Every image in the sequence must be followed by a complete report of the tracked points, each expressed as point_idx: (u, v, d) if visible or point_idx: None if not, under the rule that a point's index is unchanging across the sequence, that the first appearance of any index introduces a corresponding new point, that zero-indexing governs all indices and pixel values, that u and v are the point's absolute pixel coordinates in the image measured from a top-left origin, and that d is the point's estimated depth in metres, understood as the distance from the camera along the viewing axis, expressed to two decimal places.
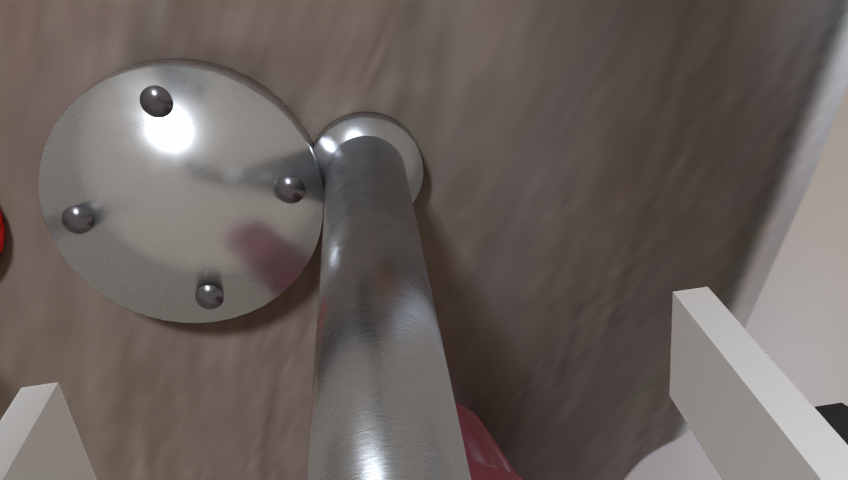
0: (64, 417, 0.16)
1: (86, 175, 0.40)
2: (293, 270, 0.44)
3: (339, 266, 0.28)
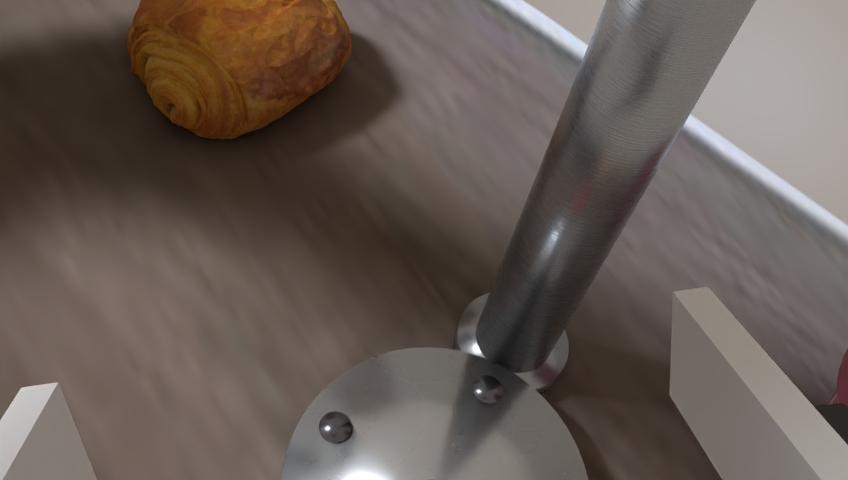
0: (64, 417, 0.16)
1: None
2: (568, 447, 0.39)
3: (549, 154, 0.31)
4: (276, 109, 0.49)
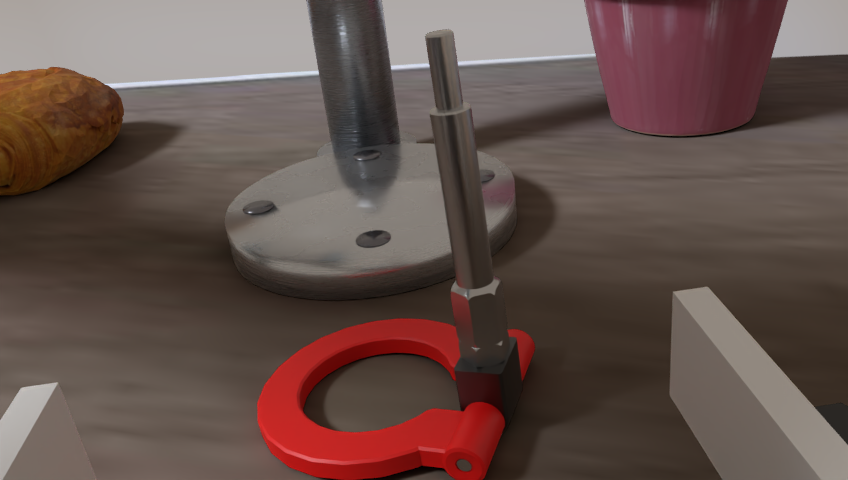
0: (64, 417, 0.16)
1: (321, 236, 0.36)
2: None
3: None
4: (79, 137, 0.54)
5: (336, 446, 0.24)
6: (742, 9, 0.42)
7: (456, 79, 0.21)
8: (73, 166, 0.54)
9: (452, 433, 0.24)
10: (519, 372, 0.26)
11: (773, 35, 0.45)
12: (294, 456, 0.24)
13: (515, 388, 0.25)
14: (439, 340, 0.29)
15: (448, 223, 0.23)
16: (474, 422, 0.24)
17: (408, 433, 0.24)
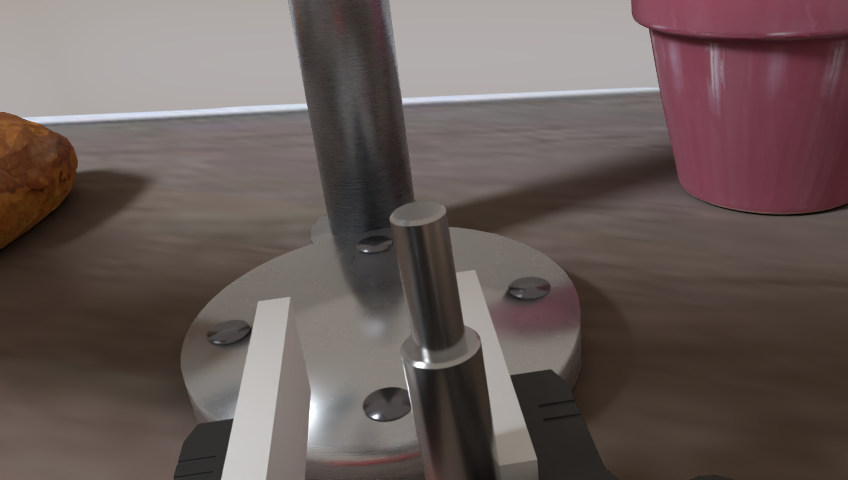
0: (295, 327, 0.18)
1: (313, 393, 0.25)
2: (485, 236, 0.34)
3: None
4: (14, 204, 0.43)
5: None
6: None
7: (452, 299, 0.10)
8: (7, 239, 0.44)
9: None
10: None
11: None
12: None
13: None
14: None
15: None
16: None
17: None
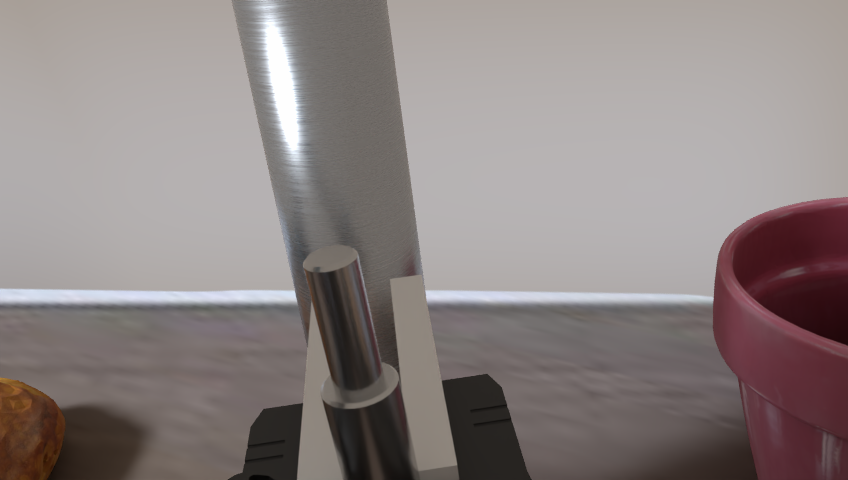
0: None
1: None
2: None
3: (303, 308, 0.25)
4: None
5: None
6: None
7: (367, 340, 0.11)
8: None
9: None
10: None
11: None
12: None
13: None
14: None
15: None
16: None
17: None
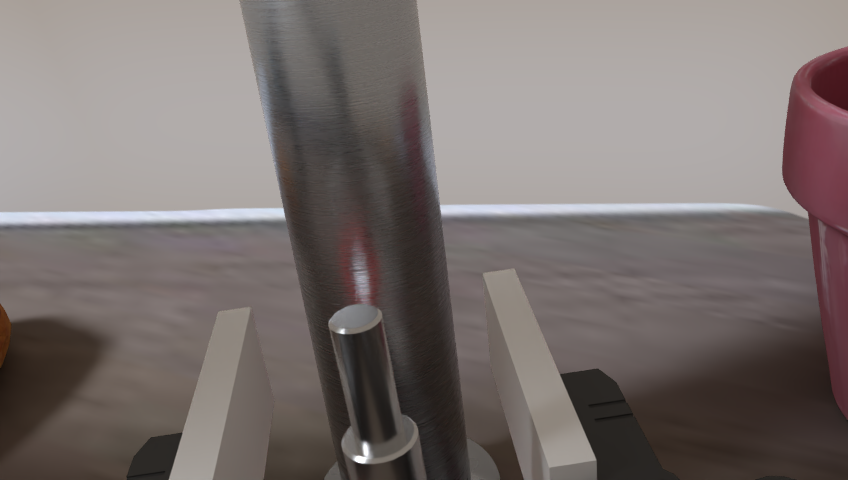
0: (256, 338, 0.18)
1: None
2: None
3: (263, 84, 0.19)
4: None
5: None
6: None
7: (388, 398, 0.11)
8: None
9: None
10: None
11: None
12: None
13: None
14: None
15: None
16: None
17: None
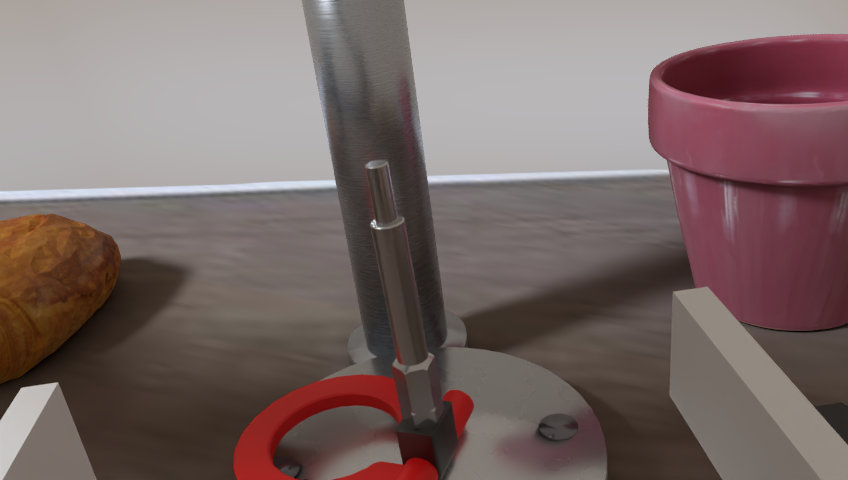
0: (63, 417, 0.16)
1: None
2: (514, 362, 0.36)
3: (320, 72, 0.34)
4: (66, 312, 0.45)
5: None
6: None
7: (391, 200, 0.25)
8: (59, 345, 0.46)
9: None
10: (454, 431, 0.30)
11: None
12: None
13: (449, 445, 0.30)
14: (393, 397, 0.33)
15: (388, 312, 0.27)
16: (410, 476, 0.28)
17: None
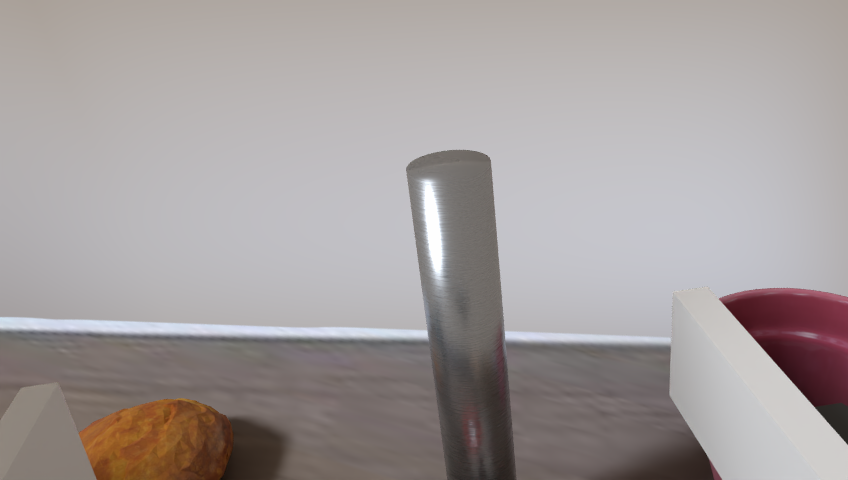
0: (64, 417, 0.16)
1: None
2: None
3: (438, 371, 0.44)
4: None
5: None
6: None
7: None
8: None
9: None
10: None
11: None
12: None
13: None
14: None
15: None
16: None
17: None
